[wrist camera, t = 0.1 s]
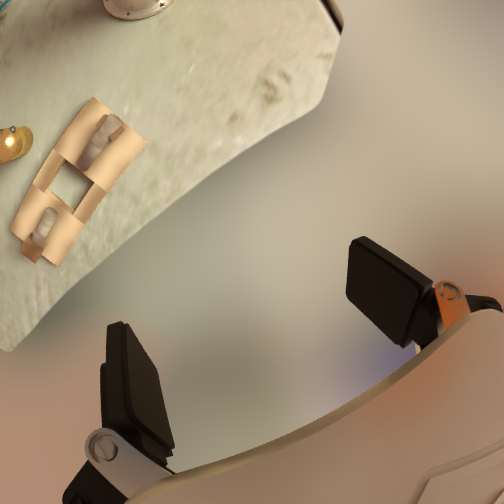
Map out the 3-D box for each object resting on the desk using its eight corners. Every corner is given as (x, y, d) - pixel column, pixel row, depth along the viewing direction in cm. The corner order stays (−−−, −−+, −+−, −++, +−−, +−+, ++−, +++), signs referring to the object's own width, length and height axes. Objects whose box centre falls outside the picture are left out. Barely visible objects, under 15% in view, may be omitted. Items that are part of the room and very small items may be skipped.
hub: (4, 149, 27) (-19, 157, 20) (23, 117, 26) (1, 118, 20) (21, 165, 30) (0, 174, 23) (40, 132, 29) (21, 136, 23)
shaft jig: (14, 224, 33) (-3, 243, 27) (96, 96, 31) (86, 91, 24) (62, 260, 40) (52, 284, 33) (148, 141, 38) (148, 144, 31)
